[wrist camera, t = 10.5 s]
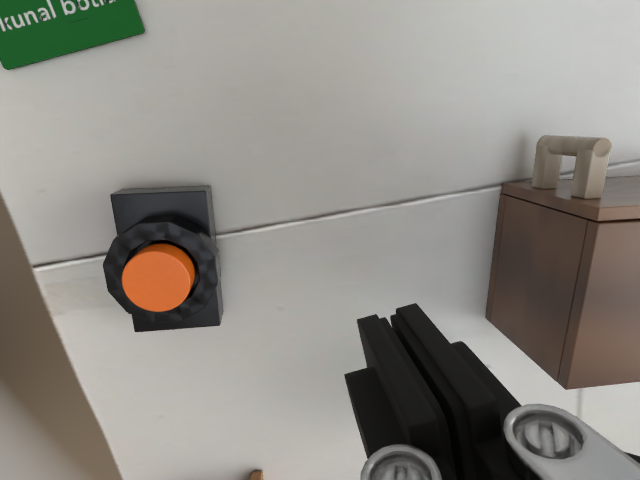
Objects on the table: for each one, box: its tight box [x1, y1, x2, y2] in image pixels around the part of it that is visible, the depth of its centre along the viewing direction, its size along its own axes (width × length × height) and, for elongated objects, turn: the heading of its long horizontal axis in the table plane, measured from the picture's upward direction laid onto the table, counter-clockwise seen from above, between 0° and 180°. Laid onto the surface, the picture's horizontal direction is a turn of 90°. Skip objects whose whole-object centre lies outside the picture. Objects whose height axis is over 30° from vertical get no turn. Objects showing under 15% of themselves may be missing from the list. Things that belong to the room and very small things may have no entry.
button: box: [122, 243, 195, 312], centre depth 24 cm, size 4×4×2 cm
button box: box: [103, 186, 223, 332], centre depth 27 cm, size 10×7×4 cm
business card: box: [0, 0, 145, 70], centre depth 23 cm, size 9×1×5 cm
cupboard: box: [486, 194, 640, 390], centre depth 28 cm, size 11×16×10 cm
